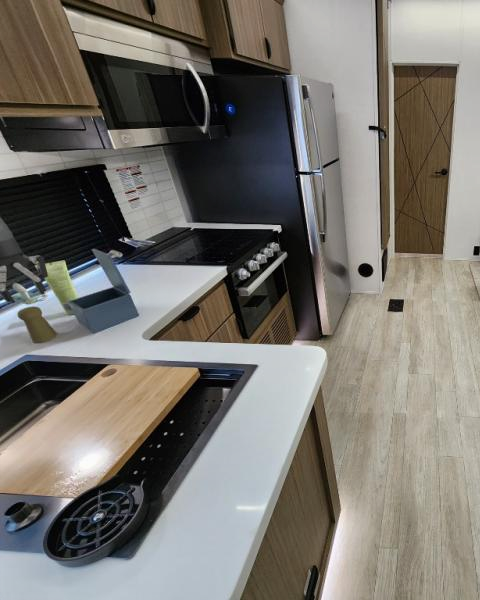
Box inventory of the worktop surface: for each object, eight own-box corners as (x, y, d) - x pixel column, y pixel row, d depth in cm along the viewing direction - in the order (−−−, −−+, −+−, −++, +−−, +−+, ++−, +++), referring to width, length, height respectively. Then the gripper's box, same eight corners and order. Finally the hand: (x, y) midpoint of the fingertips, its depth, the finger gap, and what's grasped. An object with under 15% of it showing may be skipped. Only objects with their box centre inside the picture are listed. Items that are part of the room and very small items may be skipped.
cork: (38, 334, 110) (20, 306, 105) (61, 331, 112) (44, 302, 106) (27, 344, 105) (8, 315, 100) (51, 340, 107) (33, 311, 101)
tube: (77, 307, 126) (51, 259, 117) (89, 307, 126) (64, 259, 117) (62, 314, 121) (34, 265, 112) (74, 315, 121) (47, 265, 112)
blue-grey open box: (94, 333, 110) (81, 310, 106) (79, 323, 116) (67, 301, 112) (139, 315, 120) (130, 294, 116) (123, 307, 126) (114, 286, 122)
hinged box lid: (107, 255, 108) (124, 250, 112) (91, 249, 114) (108, 244, 118) (128, 293, 116) (143, 287, 119) (112, 285, 121) (127, 280, 125)
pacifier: (38, 295, 96) (11, 304, 91) (27, 275, 93) (-1, 283, 88) (55, 298, 94) (29, 307, 89) (44, 278, 91) (17, 286, 86)
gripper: (25, 229, 90) (56, 285, 98) (-57, 244, 79) (-14, 305, 87) (34, 233, 87) (66, 291, 95) (-50, 249, 76) (-7, 312, 84)
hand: (27, 297), depth 91 cm, fingers closed on pacifier, 5 cm apart
